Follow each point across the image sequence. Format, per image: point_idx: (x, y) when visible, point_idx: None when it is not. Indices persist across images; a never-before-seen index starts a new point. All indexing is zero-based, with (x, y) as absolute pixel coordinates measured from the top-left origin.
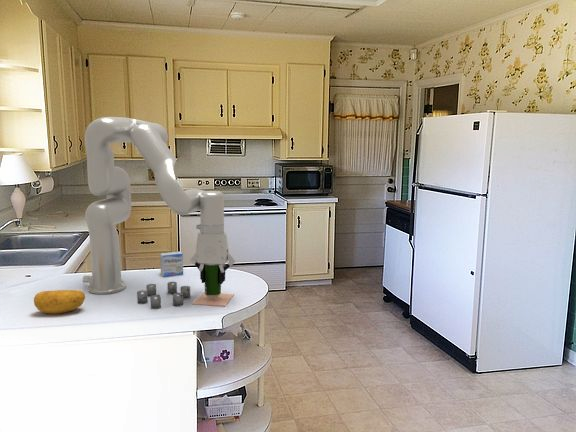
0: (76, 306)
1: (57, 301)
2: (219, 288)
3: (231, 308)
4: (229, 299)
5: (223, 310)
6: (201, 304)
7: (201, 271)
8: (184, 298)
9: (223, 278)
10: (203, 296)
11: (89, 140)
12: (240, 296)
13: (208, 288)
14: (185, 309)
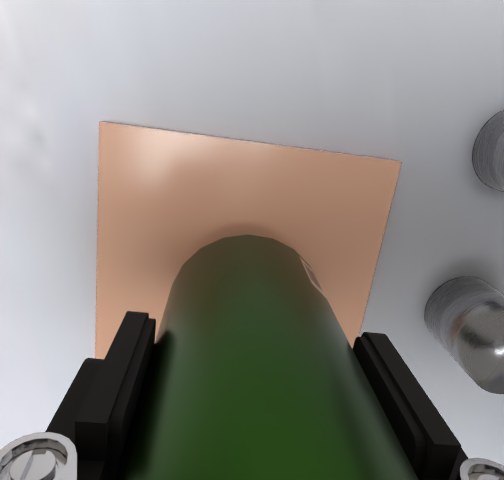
0: None
1: None
2: (168, 303)
3: (32, 79)
4: (98, 270)
5: (94, 21)
6: (319, 150)
7: (456, 469)
8: (469, 277)
9: (83, 377)
10: None
11: None
12: (37, 360)
13: (284, 265)
14: (446, 35)
